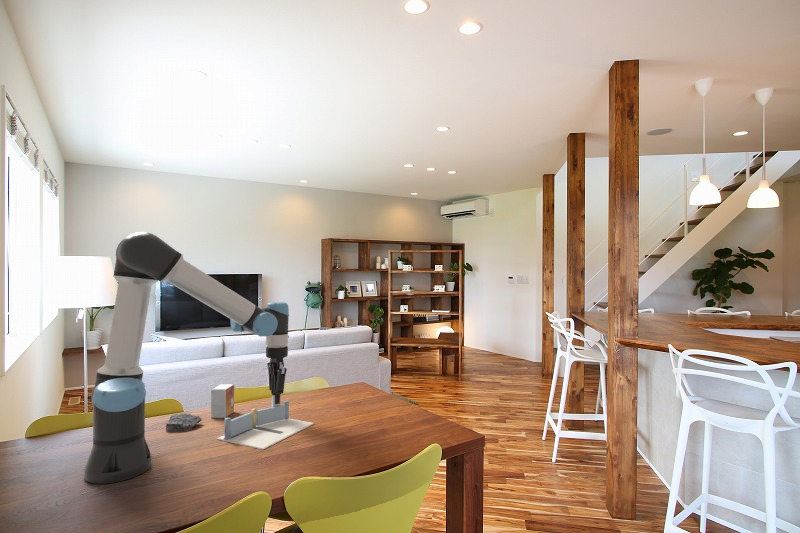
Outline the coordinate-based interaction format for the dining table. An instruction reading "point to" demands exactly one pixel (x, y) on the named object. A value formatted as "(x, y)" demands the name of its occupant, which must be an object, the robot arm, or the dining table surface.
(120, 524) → the dining table surface
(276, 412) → the swing fence panel
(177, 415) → the rock
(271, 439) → the card
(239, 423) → the fixed fence panel
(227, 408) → the small box
